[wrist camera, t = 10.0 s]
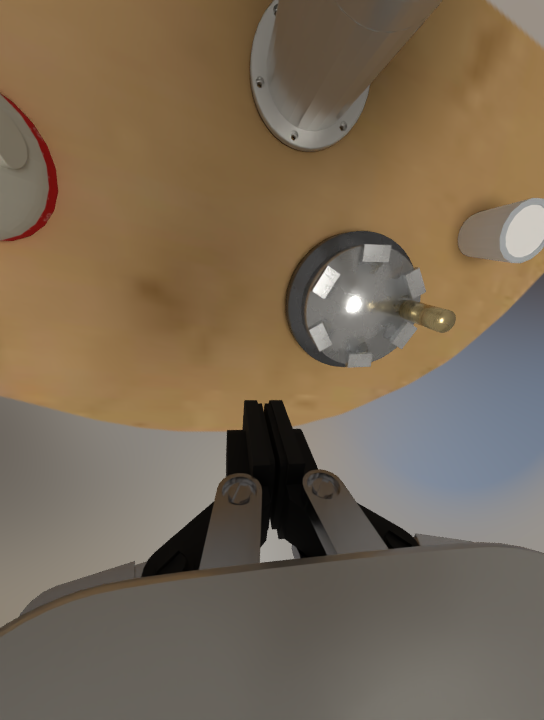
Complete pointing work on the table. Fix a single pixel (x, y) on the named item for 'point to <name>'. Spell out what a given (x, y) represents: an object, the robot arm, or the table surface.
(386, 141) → the table surface
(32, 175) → the white crested helmet
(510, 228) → the grey white-topped cylinder
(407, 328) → the grey tabbed disc
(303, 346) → the dark grey round base
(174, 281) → the table surface
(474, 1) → the table surface
